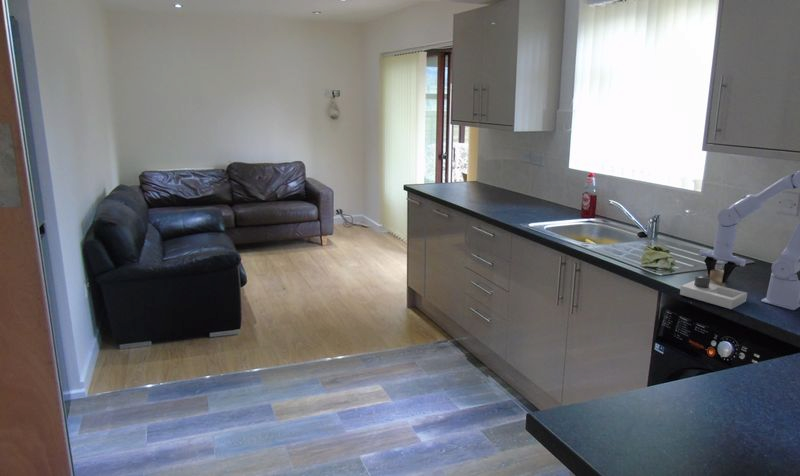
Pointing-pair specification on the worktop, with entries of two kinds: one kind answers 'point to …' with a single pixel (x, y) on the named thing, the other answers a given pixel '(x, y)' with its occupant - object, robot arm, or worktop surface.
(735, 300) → the white tray
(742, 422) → the worktop surface
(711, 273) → the plug block
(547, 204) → the worktop surface
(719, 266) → the pill bottle
